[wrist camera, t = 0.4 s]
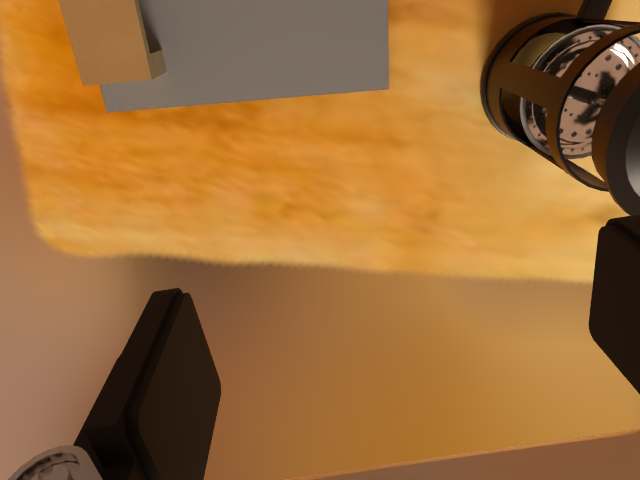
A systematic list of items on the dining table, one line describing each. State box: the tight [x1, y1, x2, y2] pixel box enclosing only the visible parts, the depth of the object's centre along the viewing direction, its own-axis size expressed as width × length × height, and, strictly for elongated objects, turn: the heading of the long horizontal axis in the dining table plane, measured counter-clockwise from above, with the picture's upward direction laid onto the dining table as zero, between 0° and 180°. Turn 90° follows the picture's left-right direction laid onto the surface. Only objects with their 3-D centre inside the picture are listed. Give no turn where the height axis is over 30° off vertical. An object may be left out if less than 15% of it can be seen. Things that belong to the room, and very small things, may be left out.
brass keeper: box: [59, 0, 167, 86], centre depth 31 cm, size 10×4×4 cm, turn 4°
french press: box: [481, 0, 640, 216], centre depth 26 cm, size 12×9×23 cm
